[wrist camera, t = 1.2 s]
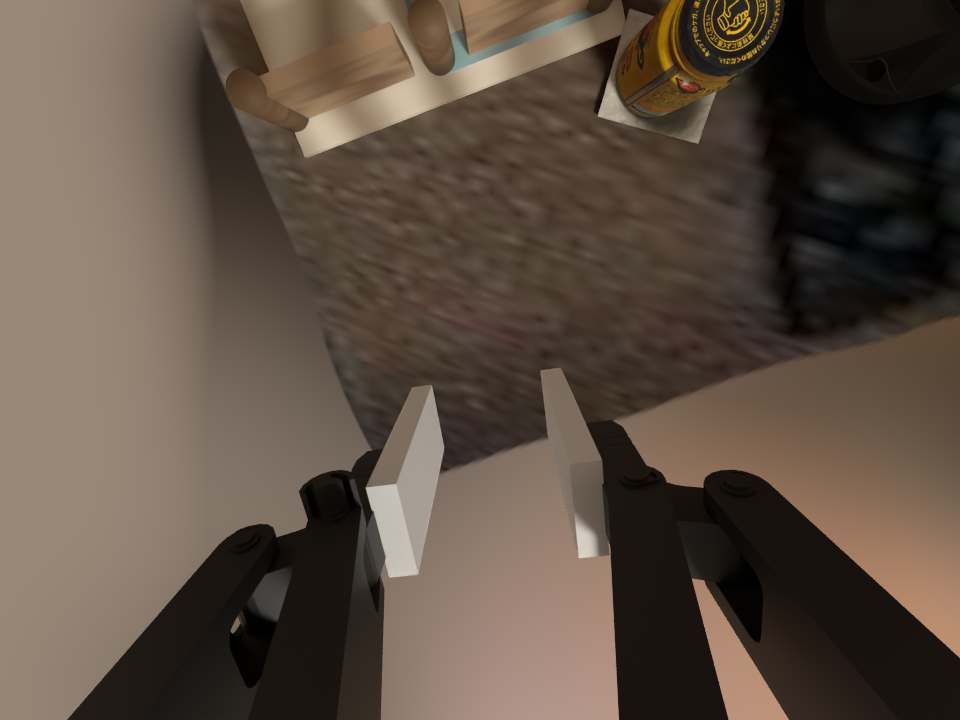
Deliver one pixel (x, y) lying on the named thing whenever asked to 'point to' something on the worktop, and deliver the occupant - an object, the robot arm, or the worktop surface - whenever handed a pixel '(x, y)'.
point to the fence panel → (322, 79)
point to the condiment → (685, 61)
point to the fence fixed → (484, 24)
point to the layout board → (369, 3)
